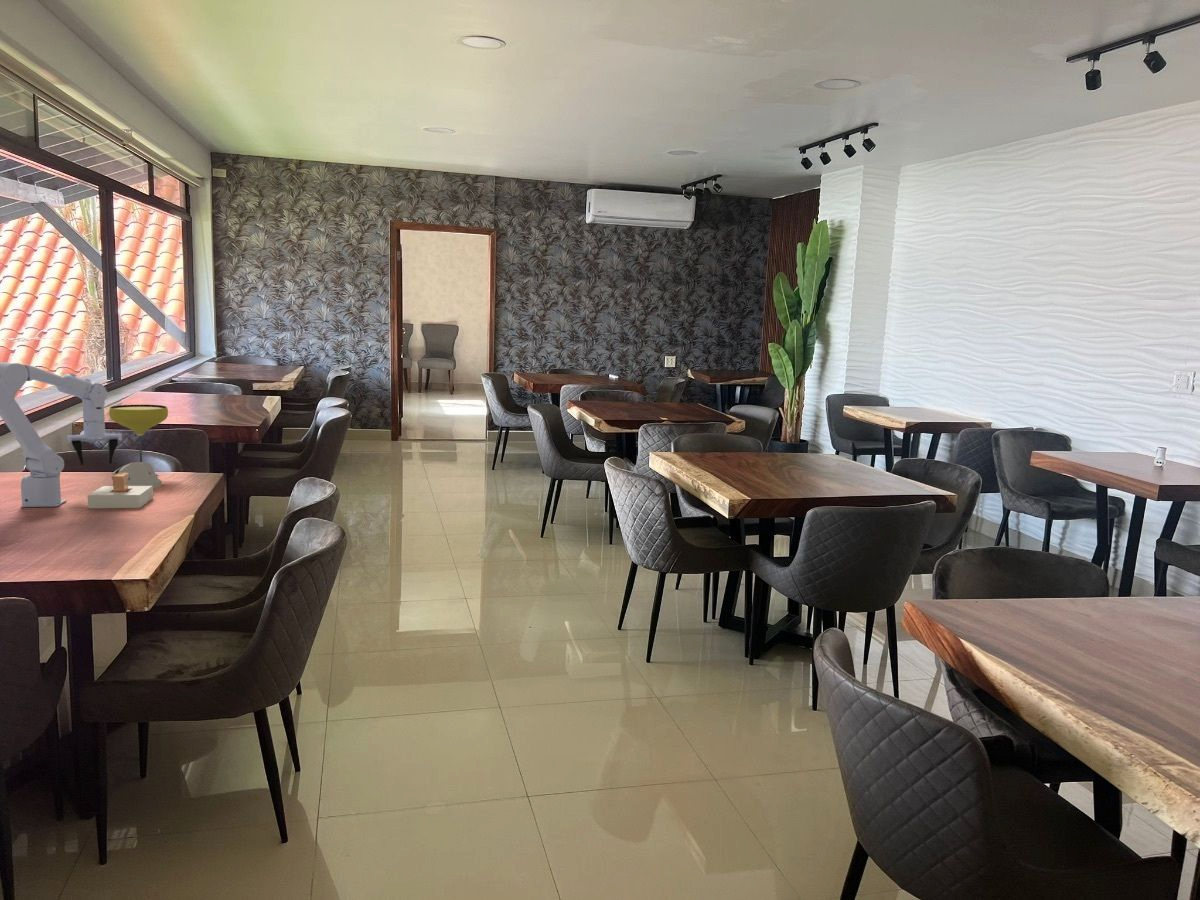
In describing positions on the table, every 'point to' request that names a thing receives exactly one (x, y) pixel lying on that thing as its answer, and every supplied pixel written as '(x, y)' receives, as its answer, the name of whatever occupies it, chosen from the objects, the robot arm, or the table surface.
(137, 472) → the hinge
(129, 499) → the well block
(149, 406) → the cocktail glass
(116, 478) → the t-shaped block
